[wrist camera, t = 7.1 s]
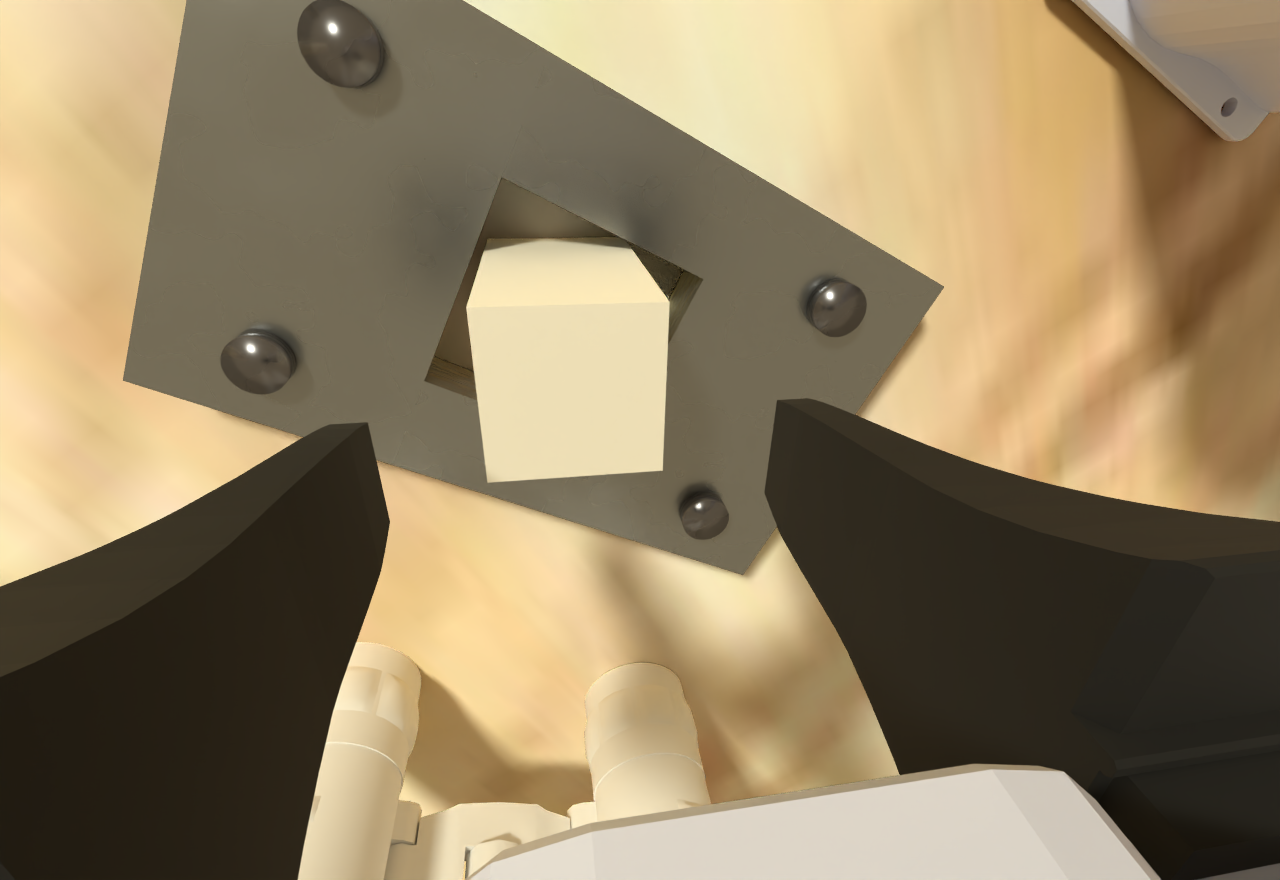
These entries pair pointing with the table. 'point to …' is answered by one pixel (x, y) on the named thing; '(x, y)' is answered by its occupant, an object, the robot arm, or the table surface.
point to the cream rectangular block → (568, 358)
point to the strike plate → (444, 243)
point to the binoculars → (476, 832)
